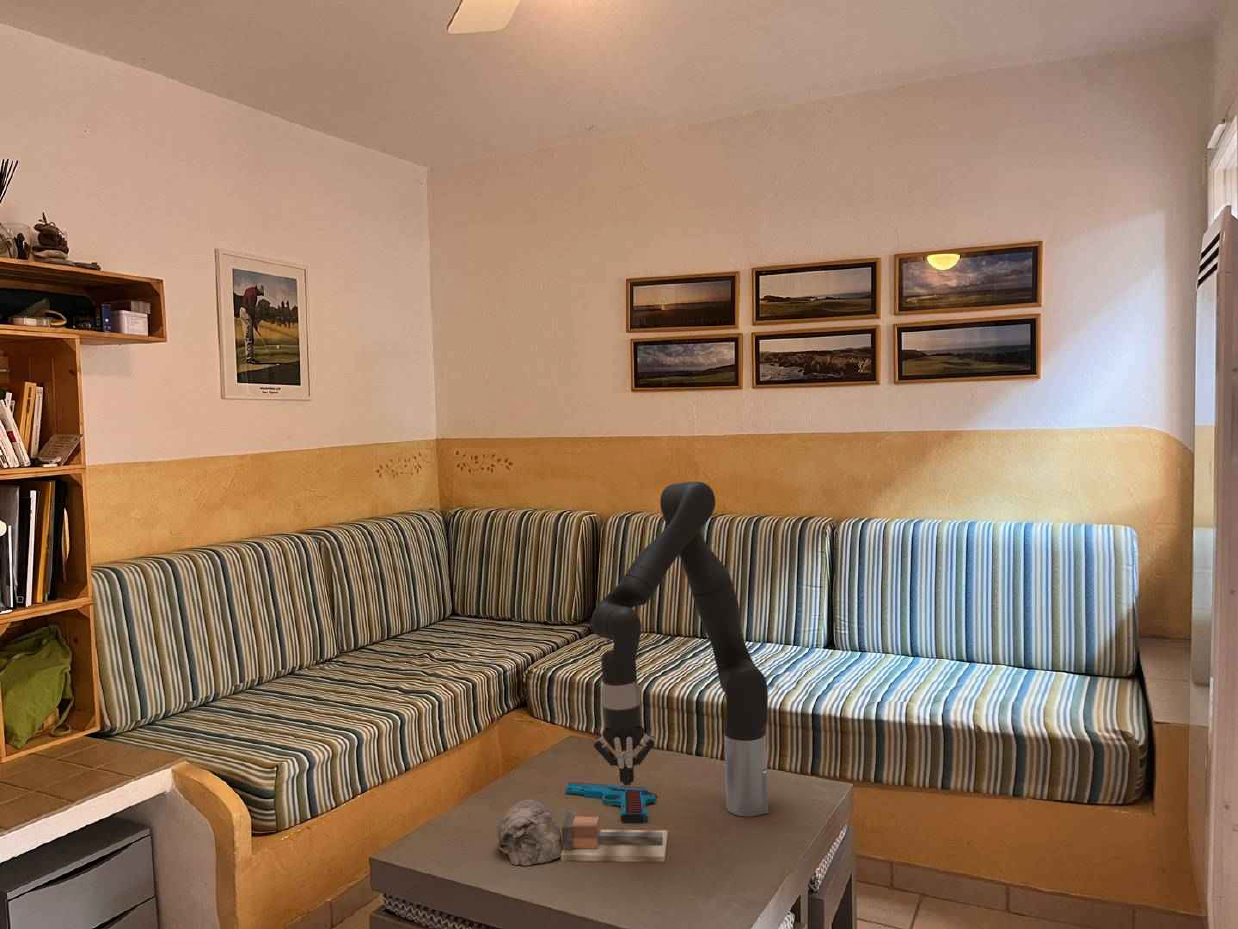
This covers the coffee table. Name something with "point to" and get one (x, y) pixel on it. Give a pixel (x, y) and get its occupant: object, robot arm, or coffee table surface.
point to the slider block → (586, 830)
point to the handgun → (618, 798)
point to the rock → (529, 834)
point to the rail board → (616, 845)
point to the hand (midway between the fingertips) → (627, 783)
